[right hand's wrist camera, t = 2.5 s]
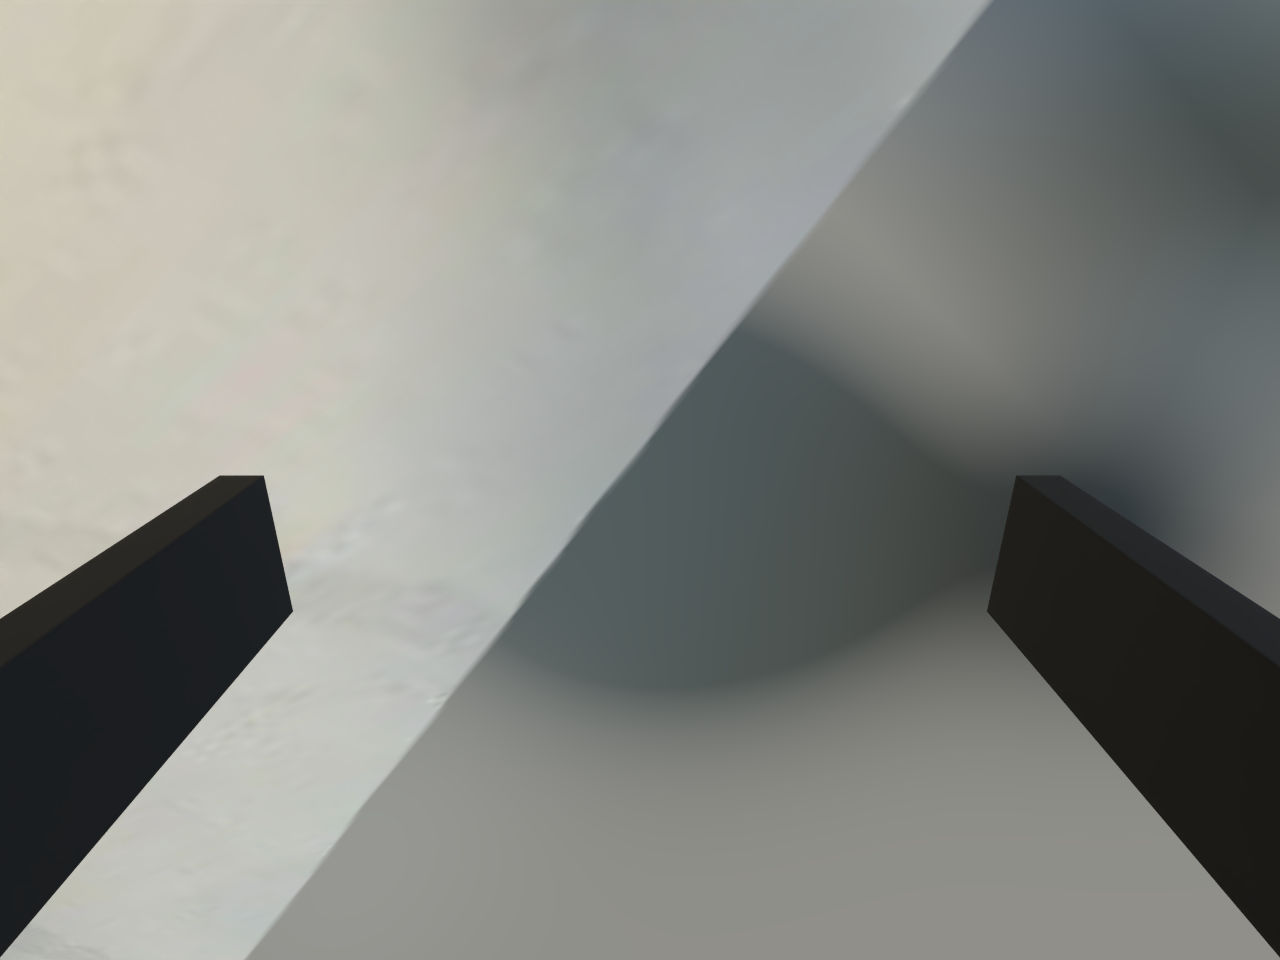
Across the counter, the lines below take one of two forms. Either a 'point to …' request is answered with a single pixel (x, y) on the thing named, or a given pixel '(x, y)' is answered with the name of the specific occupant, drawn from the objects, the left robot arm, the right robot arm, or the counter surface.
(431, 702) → the counter surface
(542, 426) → the counter surface
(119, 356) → the counter surface
